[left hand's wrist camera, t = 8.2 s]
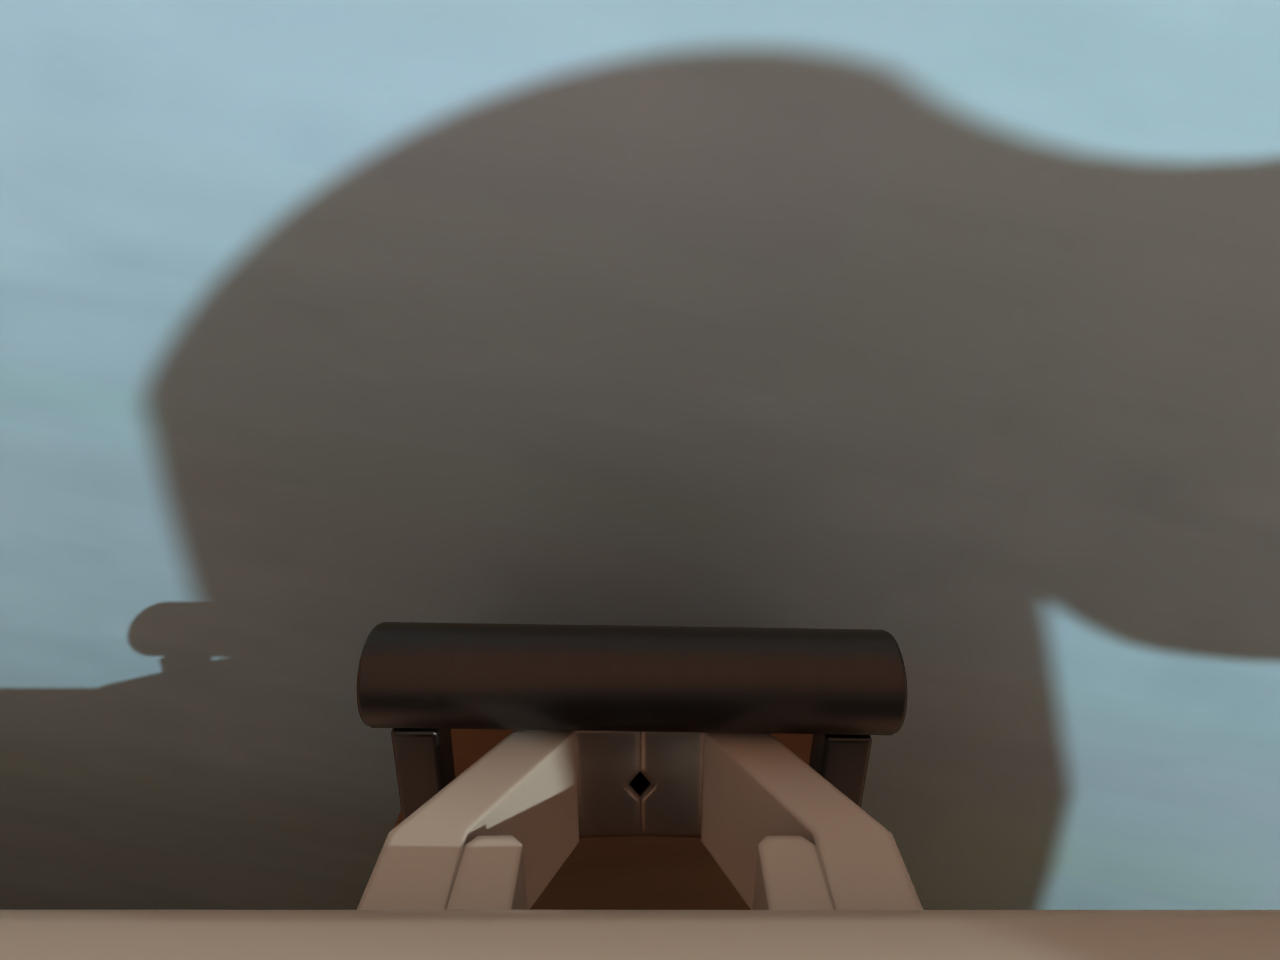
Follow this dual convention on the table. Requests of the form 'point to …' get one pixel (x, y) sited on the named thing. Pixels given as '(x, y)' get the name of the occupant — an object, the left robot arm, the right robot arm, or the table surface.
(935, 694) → the table surface
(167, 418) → the table surface
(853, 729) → the drawer
